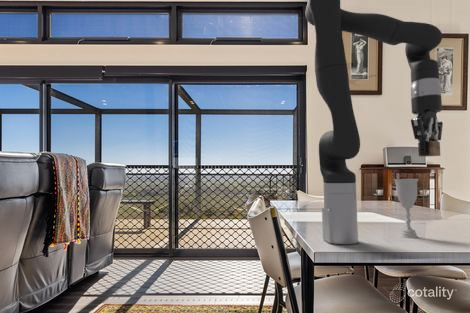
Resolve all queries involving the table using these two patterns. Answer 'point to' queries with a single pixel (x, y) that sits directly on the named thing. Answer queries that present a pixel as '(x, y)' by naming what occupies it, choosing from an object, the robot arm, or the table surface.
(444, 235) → the table surface
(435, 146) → the walnut cube
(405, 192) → the chalice
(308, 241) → the table surface
